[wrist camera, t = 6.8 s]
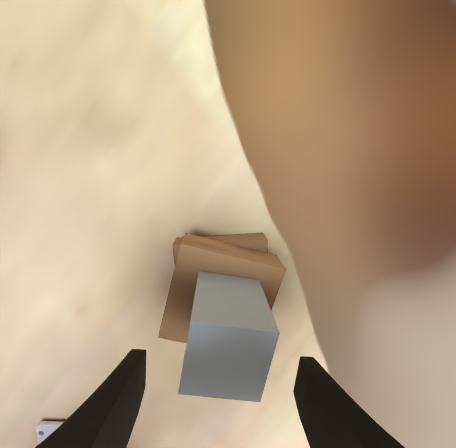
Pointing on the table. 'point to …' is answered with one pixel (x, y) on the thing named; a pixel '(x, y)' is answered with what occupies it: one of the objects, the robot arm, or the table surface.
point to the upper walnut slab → (220, 264)
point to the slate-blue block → (228, 339)
